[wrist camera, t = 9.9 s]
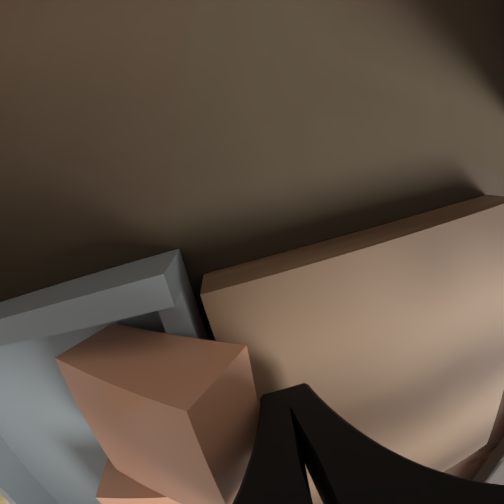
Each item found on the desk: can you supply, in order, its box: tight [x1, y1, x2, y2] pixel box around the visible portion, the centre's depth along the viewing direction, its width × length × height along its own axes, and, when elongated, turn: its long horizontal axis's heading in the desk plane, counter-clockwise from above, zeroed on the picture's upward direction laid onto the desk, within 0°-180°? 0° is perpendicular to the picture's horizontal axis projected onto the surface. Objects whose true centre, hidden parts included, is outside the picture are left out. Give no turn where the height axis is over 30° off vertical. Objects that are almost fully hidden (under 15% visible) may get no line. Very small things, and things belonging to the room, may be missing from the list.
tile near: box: [55, 323, 260, 504], centre depth 8 cm, size 5×5×2 cm
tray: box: [0, 249, 209, 504], centre depth 10 cm, size 16×14×3 cm
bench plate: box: [200, 195, 504, 504], centre depth 11 cm, size 14×12×2 cm
